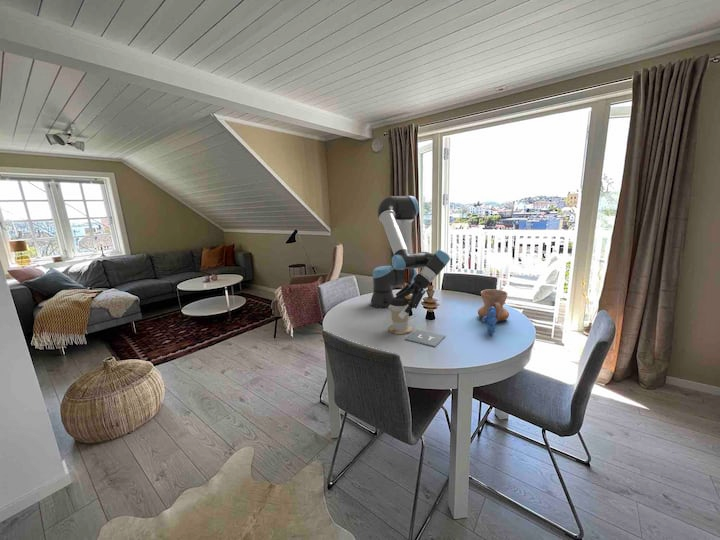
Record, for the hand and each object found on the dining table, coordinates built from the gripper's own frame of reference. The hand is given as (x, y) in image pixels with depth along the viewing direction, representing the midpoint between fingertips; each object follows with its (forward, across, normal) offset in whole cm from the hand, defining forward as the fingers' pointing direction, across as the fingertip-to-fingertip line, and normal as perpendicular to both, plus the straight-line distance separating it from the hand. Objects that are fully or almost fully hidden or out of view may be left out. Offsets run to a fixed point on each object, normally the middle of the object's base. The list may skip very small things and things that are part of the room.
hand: (395, 313), depth 138 cm
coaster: (+4, 0, -8) cm, 9 cm away
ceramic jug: (-30, -5, -43) cm, 53 cm away
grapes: (-21, -17, -34) cm, 44 cm away
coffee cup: (+4, 0, -8) cm, 9 cm away
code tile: (0, -13, -12) cm, 18 cm away
